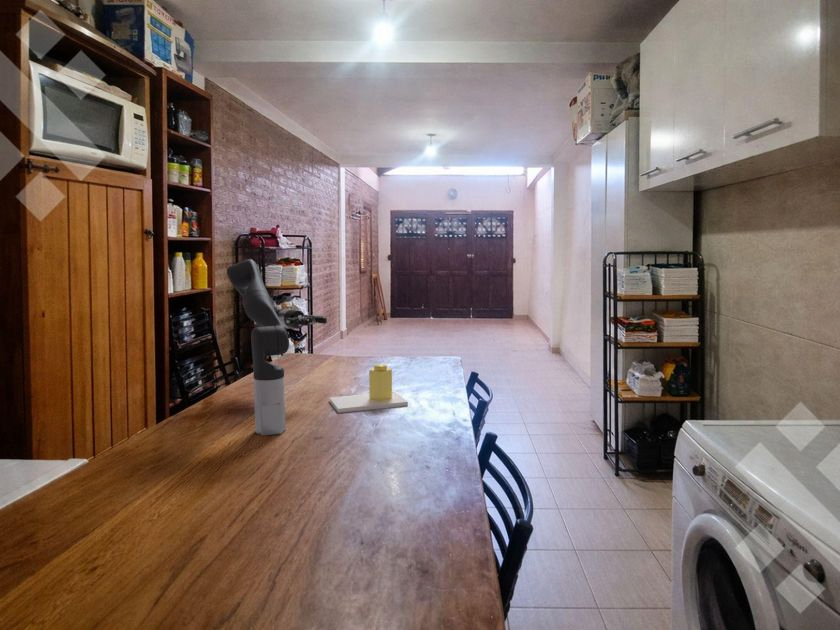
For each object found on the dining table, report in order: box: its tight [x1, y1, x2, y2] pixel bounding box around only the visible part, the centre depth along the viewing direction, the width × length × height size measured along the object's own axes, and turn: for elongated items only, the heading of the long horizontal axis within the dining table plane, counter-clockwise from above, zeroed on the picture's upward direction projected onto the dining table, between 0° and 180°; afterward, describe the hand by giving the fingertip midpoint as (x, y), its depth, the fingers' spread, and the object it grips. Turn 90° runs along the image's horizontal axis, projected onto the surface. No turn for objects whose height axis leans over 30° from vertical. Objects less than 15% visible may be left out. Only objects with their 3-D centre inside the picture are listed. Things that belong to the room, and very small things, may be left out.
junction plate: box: [328, 391, 409, 414], centre depth 196 cm, size 16×26×8 cm, turn 111°
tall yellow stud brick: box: [368, 363, 393, 401], centre depth 198 cm, size 6×6×13 cm
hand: (317, 321), depth 200 cm, fingers open, 8 cm apart
